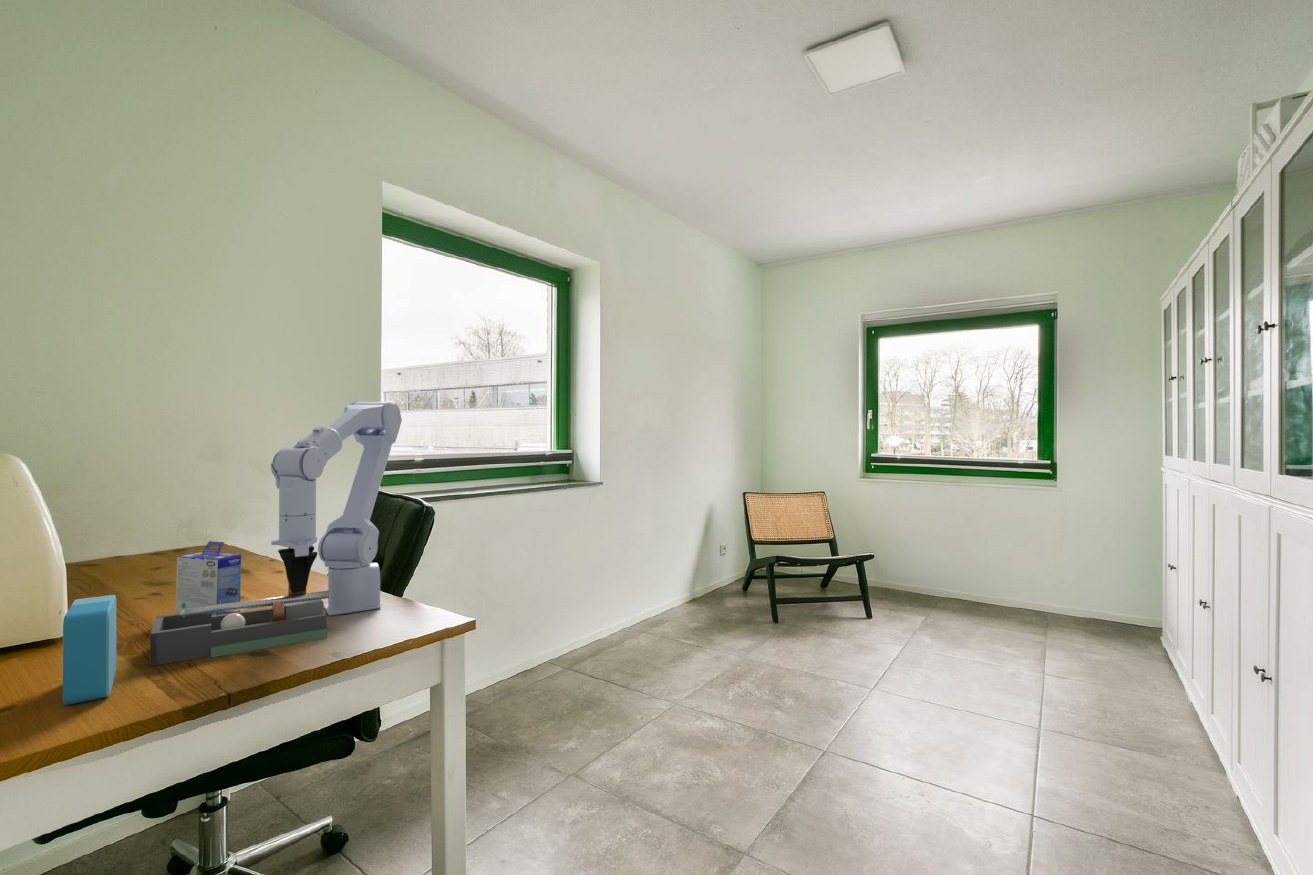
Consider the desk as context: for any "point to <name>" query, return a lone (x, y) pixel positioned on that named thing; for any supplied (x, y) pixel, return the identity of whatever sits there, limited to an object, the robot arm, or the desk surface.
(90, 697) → the blue flat block
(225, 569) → the ink cartridge box
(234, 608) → the kicker
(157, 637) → the pitch
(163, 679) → the desk surface
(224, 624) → the ball
